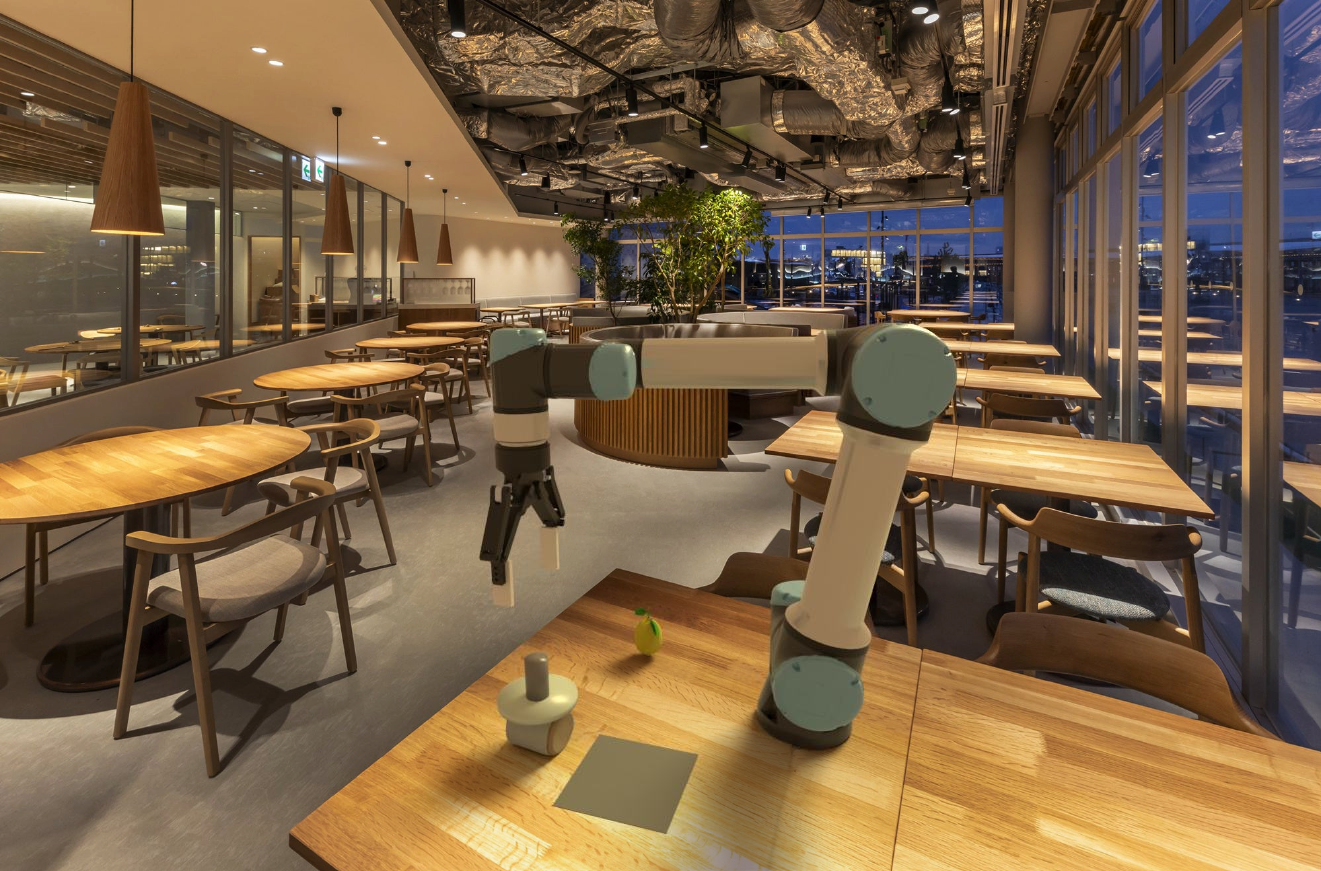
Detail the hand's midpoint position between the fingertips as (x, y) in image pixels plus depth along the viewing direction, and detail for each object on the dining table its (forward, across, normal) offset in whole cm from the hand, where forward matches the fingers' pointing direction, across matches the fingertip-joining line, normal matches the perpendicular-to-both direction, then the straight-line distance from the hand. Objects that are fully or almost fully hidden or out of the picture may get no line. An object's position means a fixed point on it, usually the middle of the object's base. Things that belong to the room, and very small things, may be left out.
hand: (528, 585), depth 96 cm
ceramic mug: (+27, -3, 0) cm, 27 cm away
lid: (+19, -1, 0) cm, 19 cm away
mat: (+27, +2, +16) cm, 31 cm away
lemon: (+27, -32, +7) cm, 42 cm away
